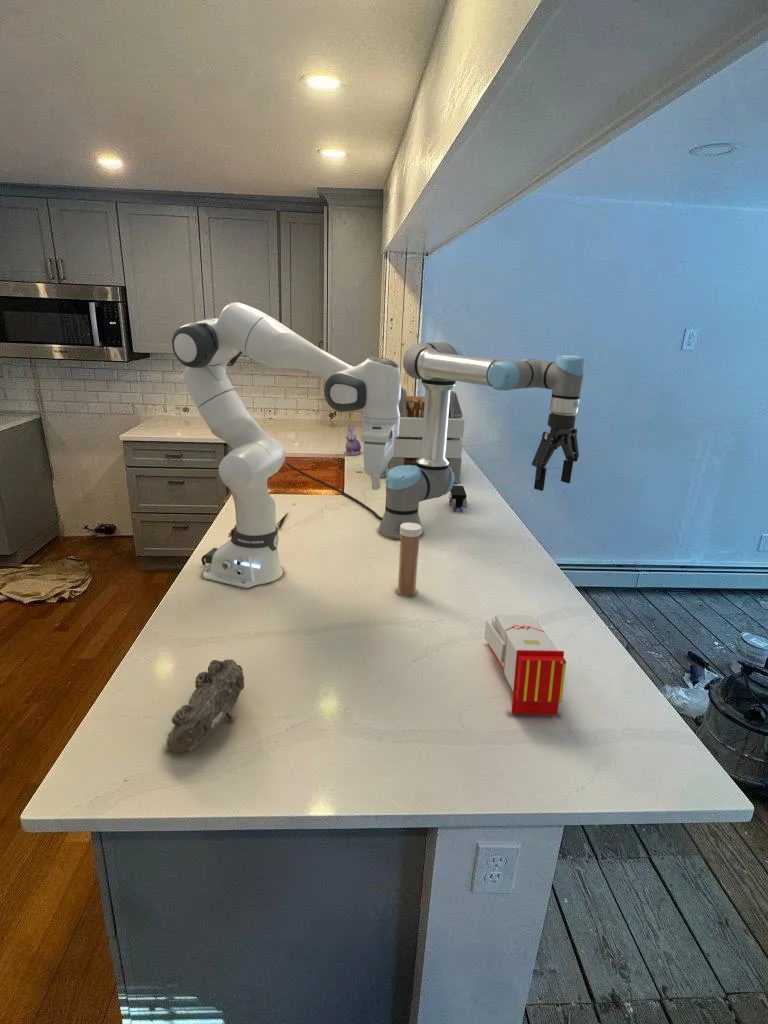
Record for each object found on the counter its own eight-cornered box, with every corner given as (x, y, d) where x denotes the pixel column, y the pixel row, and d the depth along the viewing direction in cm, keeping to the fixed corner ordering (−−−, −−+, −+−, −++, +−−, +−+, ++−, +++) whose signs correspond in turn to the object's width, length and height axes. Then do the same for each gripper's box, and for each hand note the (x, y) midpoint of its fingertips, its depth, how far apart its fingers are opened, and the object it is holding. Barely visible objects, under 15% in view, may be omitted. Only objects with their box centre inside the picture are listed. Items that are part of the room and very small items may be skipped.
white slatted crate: (382, 463, 289) (386, 382, 275) (445, 464, 293) (451, 384, 279) (390, 482, 257) (394, 392, 243) (460, 483, 261) (468, 394, 247)
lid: (406, 527, 157) (407, 520, 156) (424, 532, 154) (424, 525, 153) (395, 533, 152) (396, 526, 152) (414, 538, 150) (414, 531, 149)
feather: (294, 507, 225) (297, 503, 224) (277, 531, 198) (280, 526, 197) (290, 504, 224) (293, 500, 224) (273, 528, 198) (276, 524, 197)
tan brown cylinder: (403, 586, 163) (407, 523, 156) (418, 591, 160) (423, 527, 153) (394, 592, 158) (397, 528, 152) (409, 598, 156) (413, 532, 149)
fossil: (192, 660, 117) (244, 628, 112) (224, 691, 120) (276, 661, 115) (142, 746, 98) (202, 712, 93) (182, 779, 101) (242, 748, 96)
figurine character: (467, 516, 223) (461, 500, 237) (469, 499, 220) (463, 483, 233) (450, 516, 223) (446, 499, 236) (452, 498, 220) (447, 483, 233)
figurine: (348, 456, 299) (349, 428, 294) (341, 451, 307) (341, 424, 302) (364, 455, 303) (365, 427, 298) (356, 450, 312) (357, 423, 307)
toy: (530, 600, 137) (574, 657, 108) (525, 651, 140) (567, 720, 111) (480, 599, 137) (511, 656, 107) (477, 651, 139) (506, 719, 110)
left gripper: (376, 419, 145) (374, 471, 150) (359, 435, 126) (358, 494, 131) (400, 421, 144) (398, 473, 149) (387, 437, 125) (385, 497, 130)
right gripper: (548, 419, 148) (537, 496, 155) (598, 411, 163) (586, 482, 171) (525, 414, 153) (515, 489, 160) (575, 407, 169) (564, 476, 176)
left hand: (379, 483), depth 140 cm, fingers open, 8 cm apart
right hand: (552, 485), depth 166 cm, fingers open, 13 cm apart
